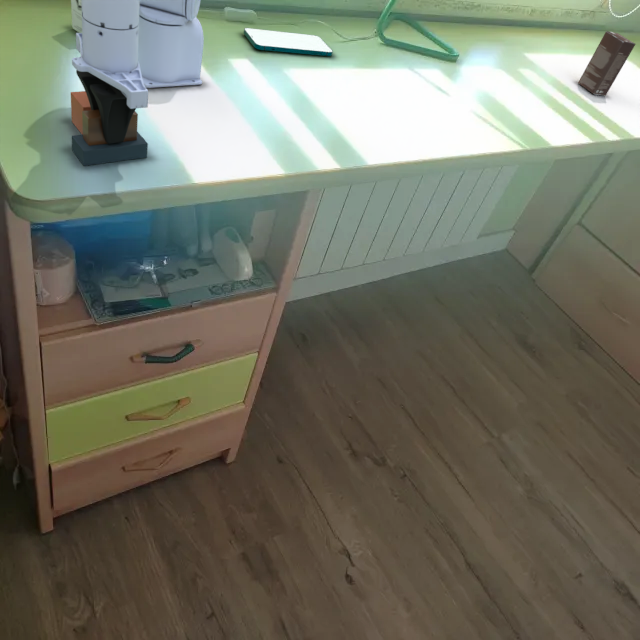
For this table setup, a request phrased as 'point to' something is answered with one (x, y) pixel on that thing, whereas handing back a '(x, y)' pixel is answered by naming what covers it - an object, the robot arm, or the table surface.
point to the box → (606, 63)
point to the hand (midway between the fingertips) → (110, 136)
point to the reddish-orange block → (79, 108)
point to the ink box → (76, 15)
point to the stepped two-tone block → (97, 150)
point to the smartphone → (287, 42)
